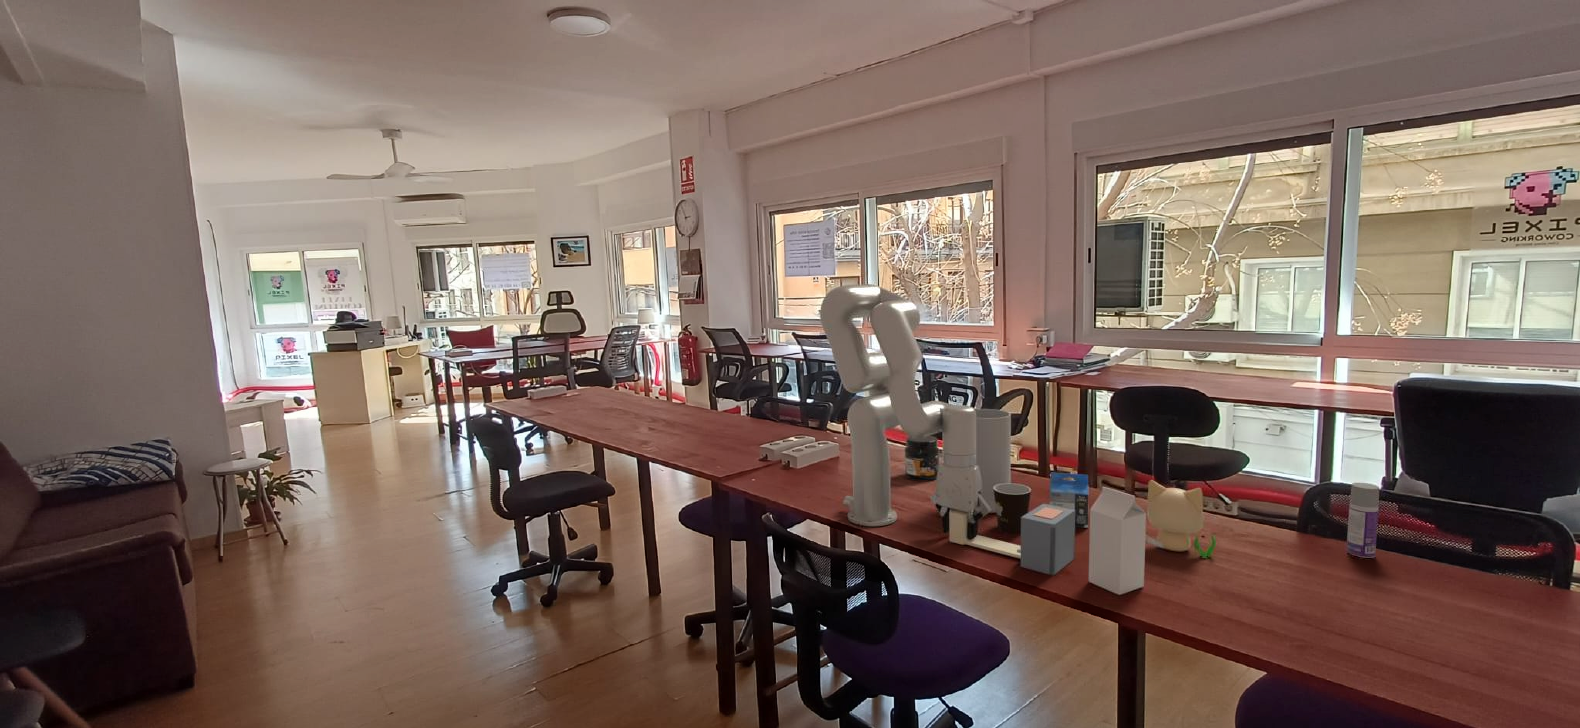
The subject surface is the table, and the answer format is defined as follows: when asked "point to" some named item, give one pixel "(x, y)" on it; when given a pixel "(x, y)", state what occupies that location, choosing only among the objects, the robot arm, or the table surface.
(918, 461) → the supplement container
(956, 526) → the cream l-shaped bracket
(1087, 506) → the label tape box
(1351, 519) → the container
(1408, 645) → the table surface
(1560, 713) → the table surface
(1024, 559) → the block
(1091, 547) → the milk carton
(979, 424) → the cylinder vase
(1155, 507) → the kitten
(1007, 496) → the coffee mug
